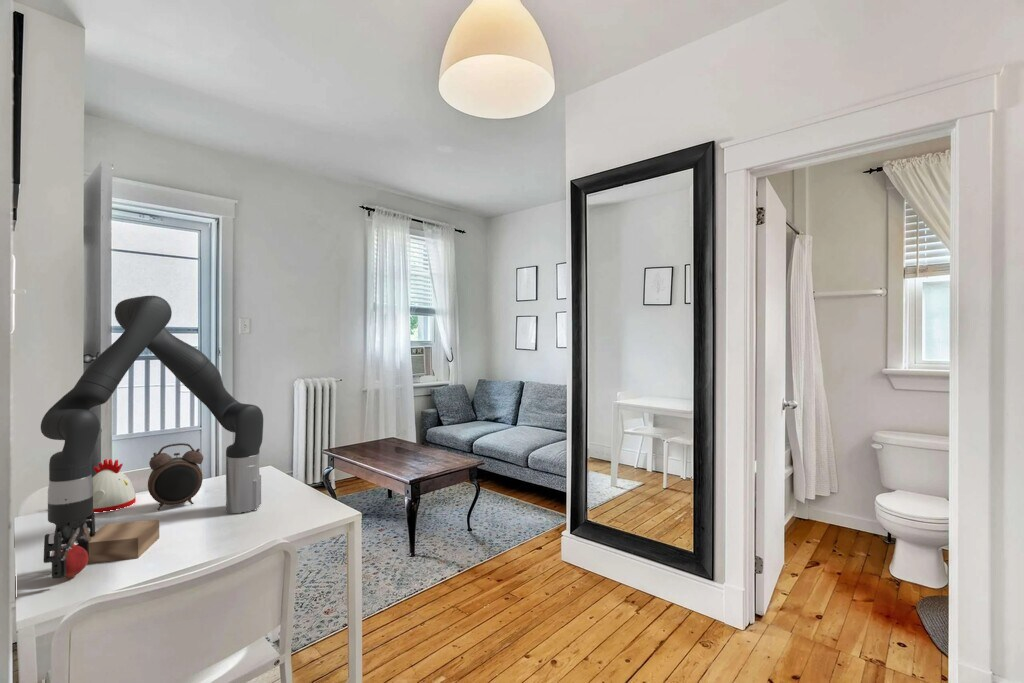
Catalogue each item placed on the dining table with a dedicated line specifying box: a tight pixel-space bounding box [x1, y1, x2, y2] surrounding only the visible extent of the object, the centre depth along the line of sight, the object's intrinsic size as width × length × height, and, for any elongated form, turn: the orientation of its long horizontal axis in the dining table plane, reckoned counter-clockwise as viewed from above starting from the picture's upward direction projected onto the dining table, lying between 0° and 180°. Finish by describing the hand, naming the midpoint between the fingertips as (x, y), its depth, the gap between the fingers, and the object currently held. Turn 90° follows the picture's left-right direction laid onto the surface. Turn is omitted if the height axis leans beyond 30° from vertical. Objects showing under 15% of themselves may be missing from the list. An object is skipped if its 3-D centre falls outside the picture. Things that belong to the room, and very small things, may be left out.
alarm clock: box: [147, 442, 204, 511], centre depth 152 cm, size 15×7×20 cm, turn 129°
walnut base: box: [87, 519, 160, 564], centre depth 121 cm, size 12×12×5 cm
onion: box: [61, 543, 89, 579], centre depth 107 cm, size 6×6×8 cm
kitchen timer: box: [92, 458, 137, 512], centre depth 152 cm, size 14×14×15 cm
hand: (71, 568), depth 107 cm, fingers open, 8 cm apart
